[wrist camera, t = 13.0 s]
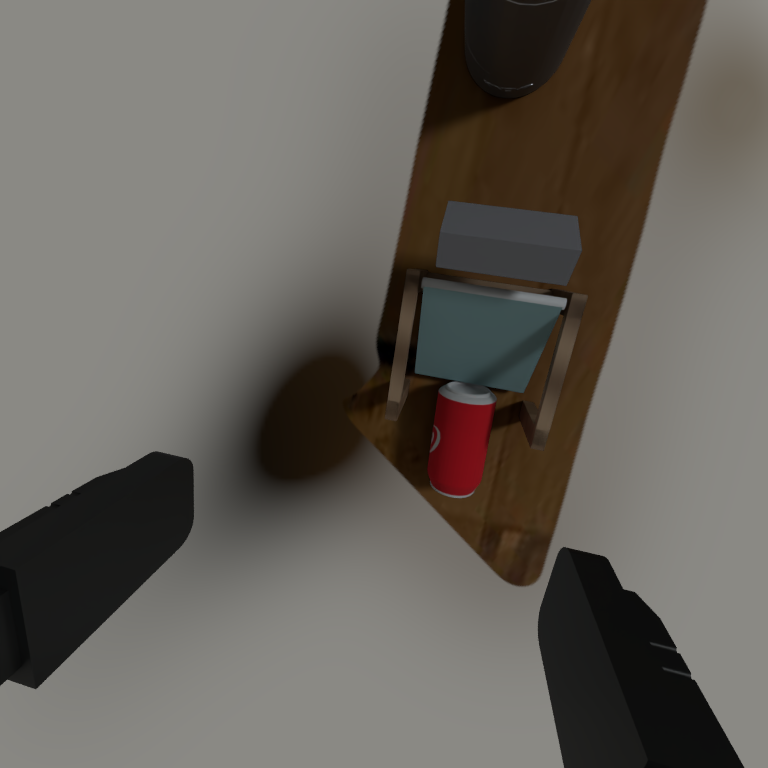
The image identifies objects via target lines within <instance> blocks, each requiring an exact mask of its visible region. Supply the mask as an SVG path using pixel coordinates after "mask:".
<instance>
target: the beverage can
mask: <svg viewBox="0 0 768 768" xmlns="http://www.w3.org/2000/svg"><path fill="white" fill-rule="evenodd" d="M496 401H497V398H496V396H495V395H494V394H493V393H492V392H491V391H490V390H489V389H488V388H487V387H485V386H482V385H477V384H471V383H466V382H460V381H454V382H449V383H447V384H446V385H444V386H442V387H441V388H440V389H439V391H438V398H437V405H436V412H435V419H434V426H433V432H432V439H431V446H430V453H429V460H428V467H427V471H428V475H429V478H430V484H431V486H432V488H433V489H434V490H435V491H437V492H439V493H440V494H443V495H445V496H449V497H453V498H464V497H468V496H470V495H472V494H473V493H474V490H475V488H476V487H477V486H478V485H479V483H480V482H481V479H482V474H483V469H484V463H485V458H486V453H487V448H488V443H489V437H490V432H491V427H492V422H493V417H494V411H495V406H496Z"/></svg>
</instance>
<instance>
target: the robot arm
mask: <svg viewBox="0 0 768 768" xmlns="http://www.w3.org/2000/svg"><path fill="white" fill-rule="evenodd" d="M590 2H591V0H465V58H466V63H467V67H468V69H469V72H470V74H471V76H472V78H473V79H474V80H475V82H476V83H477V85H478V86H480V87H481V88H482V89H483V90H484V91H485V92H487V93H489V94H491V95H493V96H497V97H501V98H516V97H520V96H524V95H527V94H529V93H531V92H533V91H535V90H537V89H538V88H539V87H541V86H542V85H543V84H544V83H546V82H547V81H548V80H549V79H550V77H551V76H552V75H553V74H554V73H555V72H556V70H557V68H558V67H559V65H560V64H561V62H562V60H563V58H564V56H565V54H566V52H567V50H568V48H569V45H570V43H571V41H572V39H573V38H574V35H575V33H576V31H577V29H578V27H579V25H580V23H581V21H582V19H583V17H584V14H585V12H586V10H587V8H588V6H589V4H590ZM193 483H194V479H193V464H192V462H191V461H190V460H189V459H187V458H183V457H179V456H174V455H170V454H166V453H161V452H152V453H150V454H148V455H146V456H144V457H143V458H141V459H139V460H137V461H136V462H134V463H132V464H131V465H129V466H127V467H126V468H123V469H120V470H117V471H114V472H111V473H108V474H105V475H102V476H99V477H96V478H95V479H93V480H91V481H89V482H87V483H86V484H84V485H82V486H81V487H79V488H77V489H75V490H73V491H72V493H71V495H69V494H66V495H65V496H63V497H61V498H59V499H58V500H56V501H54V502H53V503H51V506H50V507H47V506H45V507H43V508H42V509H40V510H38V511H36V512H35V513H33V514H31V515H29V516H28V517H26V518H24V519H22V520H21V521H19V522H17V523H15V524H14V525H12V526H10V527H9V528H7V529H5V530H3V531H1V532H0V685H1V684H3V683H4V682H5V681H6V680H11V681H13V682H16V683H19V684H22V685H25V686H28V687H31V688H34V689H36V688H38V687H39V686H40V685H41V684H42V683H43V682H44V681H45V680H46V679H47V678H48V677H49V676H50V675H51V674H52V673H53V672H54V671H55V670H56V669H57V668H58V667H59V666H60V665H61V664H62V663H63V662H64V661H65V660H66V659H67V658H68V657H69V656H70V655H71V654H72V653H73V652H74V651H75V650H76V649H77V648H78V647H79V646H80V645H81V644H82V643H83V642H84V641H85V640H86V639H87V638H88V637H89V636H90V635H91V634H92V633H94V631H96V630H97V629H98V628H99V627H100V626H101V625H102V623H104V622H105V621H106V620H107V619H108V618H109V617H110V616H111V615H112V614H113V613H114V612H115V611H116V610H117V609H118V608H119V607H120V606H121V605H122V604H123V603H124V602H125V601H126V600H127V599H128V598H129V597H130V596H131V595H132V594H133V593H134V592H135V591H136V590H137V589H138V588H139V587H140V586H141V585H142V584H143V583H144V582H145V581H146V580H147V579H148V578H149V577H150V576H151V575H152V574H153V573H154V572H156V570H157V569H159V567H161V566H162V565H163V564H164V563H165V562H166V561H167V560H168V558H170V557H171V556H172V555H173V554H174V553H175V552H176V551H177V550H178V549H179V548H180V547H181V546H182V544H183V543H184V542H185V540H186V539H187V537H188V535H189V533H190V531H191V528H192V525H193V519H194V484H193ZM538 639H539V646H540V651H541V656H542V661H543V665H544V670H545V675H546V680H547V685H548V690H549V695H550V700H551V705H552V710H553V715H554V720H555V724H556V729H557V734H558V739H559V744H560V749H561V754H562V759H563V763H564V768H744V766H743V764H742V763H741V761H740V759H739V758H738V755H737V754H736V752H735V750H734V748H733V747H732V745H731V743H730V741H729V740H728V738H727V736H726V734H725V732H724V731H723V729H722V727H721V725H720V724H719V722H718V720H717V718H716V716H715V715H714V713H713V711H712V709H711V708H710V706H709V704H708V702H707V701H706V699H705V697H704V695H703V693H702V692H701V690H700V688H699V686H698V685H697V683H696V681H695V680H692V679H691V672H690V670H689V669H688V667H687V665H686V663H685V662H684V660H683V658H682V656H681V654H679V653H677V651H676V648H677V647H676V646H675V644H674V642H673V640H672V639H671V637H670V635H669V633H668V631H667V630H666V628H665V626H664V624H663V623H662V621H661V619H660V618H659V617H658V616H657V615H656V614H655V613H654V612H653V611H652V609H650V607H649V606H648V605H647V604H646V603H645V602H644V601H643V600H642V599H641V598H640V597H639V596H638V595H637V594H636V593H635V592H632V591H628V590H624V589H623V588H622V586H621V584H620V582H619V580H618V578H617V576H616V574H615V572H614V570H613V568H612V566H611V564H610V562H609V560H608V559H607V558H606V557H604V556H600V555H596V554H592V553H588V552H583V551H579V550H574V549H570V548H566V547H563V548H562V549H561V550H560V551H559V553H558V555H557V558H556V561H555V564H554V567H553V570H552V573H551V576H550V580H549V583H548V586H547V589H546V592H545V595H544V598H543V601H542V604H541V607H540V612H539V619H538Z"/></svg>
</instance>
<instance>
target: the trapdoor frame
mask: <svg viewBox="0 0 768 768" xmlns="http://www.w3.org/2000/svg"><path fill="white" fill-rule="evenodd" d="M423 277H427V278H433V279H440V280H447V281H454V282H460V283H467V284H474V285H480V286H487V287H494V288H501V289H507V290H514V291H521V292H527V293H534V294H541V295H548V296H554V297H561V298H567V303H566V307H565V309H564V310H561V312H560V314H561V315H563V316H564V317H563V320H562V324H561V328H560V331H559V335H558V339H557V343H556V346H555V350H554V354H553V357H552V361H551V365H550V368H549V372H548V376H547V379H546V383H545V387H544V390H543V394H542V398H541V401H540V405H539V409H538V410H537V408H536V406H535V404H534V403H533V402H528V401H523V402H522V406H521V410H520V414H519V419H520V421H521V424H522V427H523V429H524V432H525V435H526V437H527V440H528V442H529V445H530V448H532V449H537V450H542V451H544V448H545V444H546V441H547V437H548V434H549V430H550V427H551V423H552V420H553V416H554V413H555V409H556V406H557V402H558V399H559V395H560V392H561V388H562V385H563V381H564V378H565V374H566V371H567V367H568V364H569V360H570V357H571V353H572V350H573V346H574V343H575V339H576V336H577V332H578V329H579V325H580V322H581V318H582V315H583V311H584V308H585V304H586V301H587V297H588V295H584V294H579V293H574V292H570V291H565V290H558V289H552V290H545V289H538V288H531V287H524V286H517V285H511V284H504V283H497V282H490V281H483V280H477V279H470V278H463V277H456V276H449V275H442V274H436V273H429V272H428V270H422V269H407V273H406V279H405V286H404V293H403V300H402V306H401V313H400V320H399V326H398V333H397V340H396V347H395V353H394V360H393V367H392V374H391V380H390V387H389V394H388V400H387V407H386V414H385V419H388V420H393V421H397V419H398V417H399V414H400V412H401V410H402V407H403V405H404V403H405V401H406V398H407V396H408V391H409V385H410V380H409V379H404V377H405V371H406V365H407V359H408V352H409V346H410V340H411V333H412V327H413V321H414V315H415V308H416V302H417V296H418V293H419V292H421V291H423V288H421V285H422V279H423Z"/></svg>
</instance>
